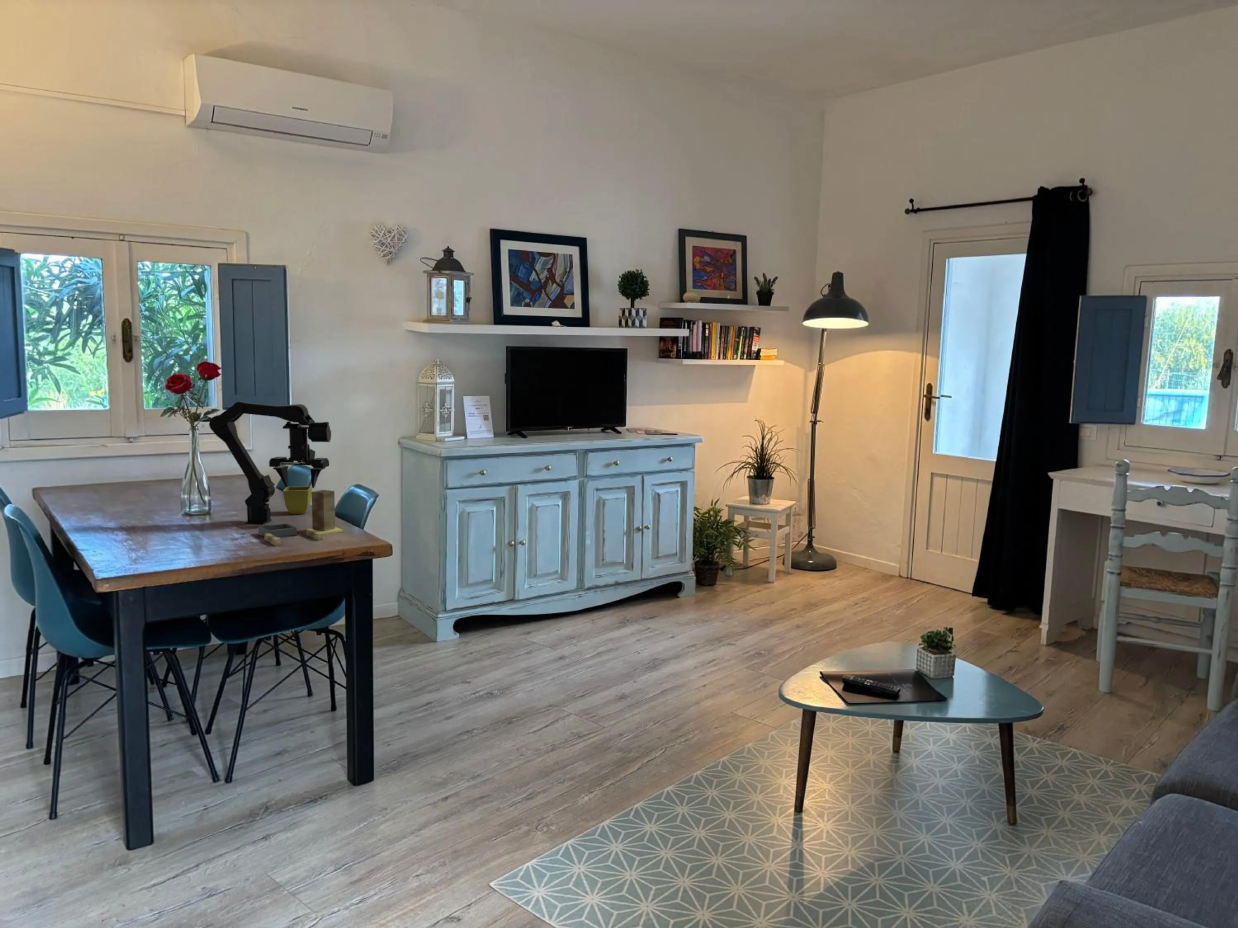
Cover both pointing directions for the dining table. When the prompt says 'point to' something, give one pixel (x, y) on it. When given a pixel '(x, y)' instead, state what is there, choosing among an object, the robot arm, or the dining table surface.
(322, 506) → the walnut block
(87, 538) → the dining table surface
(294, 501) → the flower pot
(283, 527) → the charcoal tray
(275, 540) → the brown lane walls
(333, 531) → the pad
